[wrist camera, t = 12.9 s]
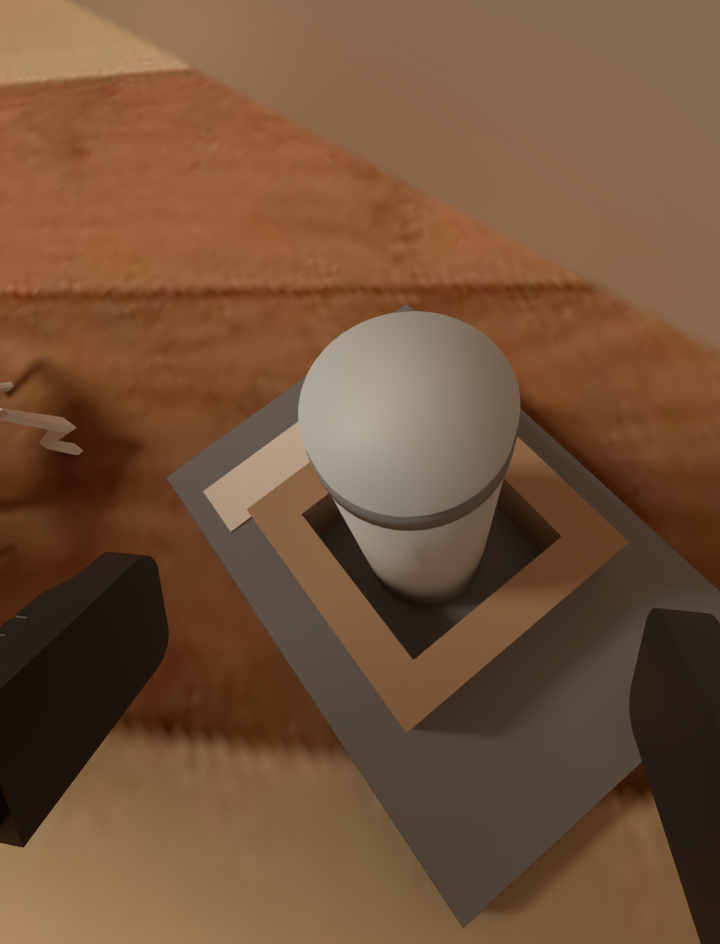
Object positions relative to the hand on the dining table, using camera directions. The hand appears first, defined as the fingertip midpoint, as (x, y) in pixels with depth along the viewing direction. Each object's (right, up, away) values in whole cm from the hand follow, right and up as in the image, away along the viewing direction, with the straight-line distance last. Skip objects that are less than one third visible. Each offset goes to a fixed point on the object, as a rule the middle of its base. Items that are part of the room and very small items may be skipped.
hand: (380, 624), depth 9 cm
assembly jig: (+3, -1, +14) cm, 15 cm away
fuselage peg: (+2, -1, +13) cm, 13 cm away
